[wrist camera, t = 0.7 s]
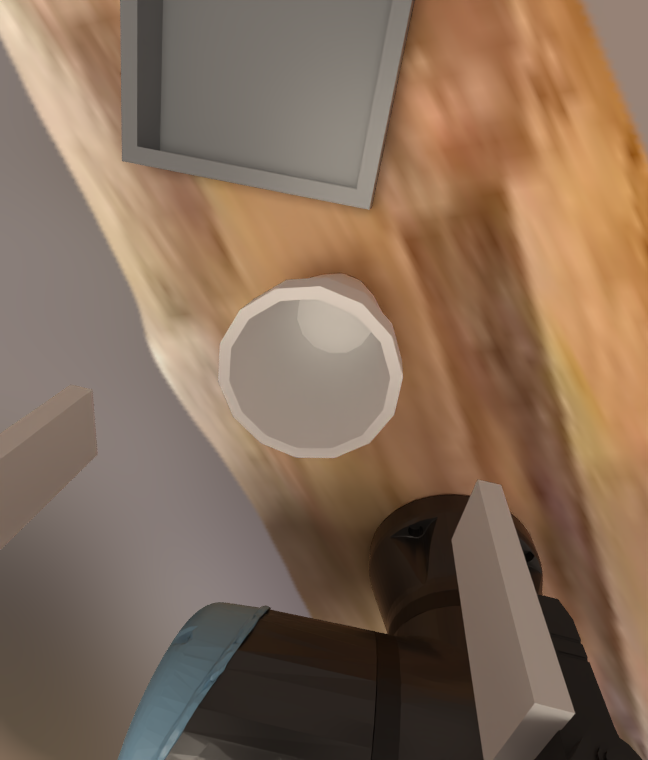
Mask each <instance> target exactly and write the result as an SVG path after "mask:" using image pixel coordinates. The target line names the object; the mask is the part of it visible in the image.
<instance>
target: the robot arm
mask: <svg viewBox="0 0 648 760" xmlns="http://www.w3.org/2000/svg"><path fill="white" fill-rule="evenodd" d="M96 455H97V442H96V429H95V417H94V404H93V391H92V389H87V388H82V387H79V386H74V385H70V386H68V387H67V388H65V389H64V390H63V391H61V392H60V393H58V394H57V395H55V396H54V397H52V398H51V399H50V400H48V401H47V402H45V403H44V404H42V405H41V406H39V407H38V408H37V409H35V410H34V411H32V412H31V413H29V414H28V415H26V416H25V417H23V418H22V419H21V420H19V421H18V422H16V423H15V424H13V425H12V426H10V427H9V428H7V429H6V430H5V431H3V432H2V433H0V550H1V549H2V548H3V547H4V546H5V545H6V544H7V543H8V542H9V541H10V540H11V539H12V538H13V537H14V536H15V535H16V534H17V533H18V532H19V531H20V530H21V529H22V528H23V527H24V526H25V525H26V524H27V523H28V522H29V521H30V520H31V519H32V518H33V517H34V516H35V515H37V514H38V512H40V511H41V510H42V509H43V508H44V507H45V506H46V505H47V504H48V503H49V502H50V501H51V500H52V499H53V498H54V497H55V496H56V495H57V494H58V493H59V492H60V491H61V490H62V489H63V488H64V487H65V486H66V485H67V484H68V483H69V482H70V481H71V480H72V479H73V478H74V477H75V476H76V475H77V474H78V473H79V472H80V471H81V470H82V469H83V468H84V467H85V466H86V465H87V464H88V463H89V462H90V461H91V460H92V459H93V458H94V457H95V456H96ZM369 576H370V582H371V586H372V590H373V592H374V595H375V598H376V601H377V604H378V607H379V610H380V613H381V616H382V619H383V622H384V624H385V627H386V630H387V633H388V634H384V633H379V632H375V631H370V630H365V629H360V628H356V627H351V626H346V625H341V624H336V623H332V622H327V621H322V620H317V619H312V618H307V617H303V616H298V615H293V614H288V613H283V612H279V611H274V610H270V609H271V608H270V607H268V606H262V607H260V608H258V607H251V606H244V605H237V604H230V603H223V602H222V603H221V602H218V603H213V604H210V605H207V606H205V607H203V608H202V609H200V610H199V611H198V612H196V613H195V614H194V615H193V616H192V617H191V618H190V619H189V620H188V621H187V622H186V624H185V625H184V626H183V627H182V629H181V630H180V631H179V633H178V634H177V636H176V637H175V639H174V640H173V642H172V643H171V645H170V647H169V648H168V650H167V651H166V653H165V655H164V656H163V658H162V660H161V662H160V664H159V665H158V667H157V669H156V671H155V672H154V675H153V676H152V678H151V680H150V682H149V684H148V686H147V688H146V690H145V692H144V695H143V697H142V699H141V701H140V703H139V705H138V708H137V710H136V712H135V715H134V717H133V720H132V722H131V724H130V727H129V729H128V732H127V735H126V738H125V740H124V743H123V746H122V749H121V751H120V755H119V757H118V760H642V759H641V758H640V756H639V755H638V754H637V753H636V752H635V751H634V750H633V749H632V748H631V747H630V746H629V744H627V743H626V742H625V741H623V740H622V739H620V738H619V736H618V734H617V732H616V730H615V728H614V725H613V722H612V720H611V717H610V715H609V712H608V709H607V707H606V704H605V702H604V699H603V696H602V694H601V691H600V689H599V686H598V683H597V681H596V678H595V676H594V673H593V670H592V668H591V665H590V663H589V662H588V661H587V655H586V652H585V650H584V647H583V645H582V644H581V639H580V637H579V634H578V632H577V629H576V626H575V624H574V621H573V619H572V618H571V616H570V615H569V614H568V612H567V611H566V610H565V608H564V607H563V605H562V604H561V603H560V601H559V600H558V599H555V598H551V597H546V596H542V582H543V575H542V567H541V562H540V559H539V556H538V554H537V551H536V549H535V546H534V544H533V541H532V539H531V537H530V535H529V533H528V532H527V530H526V529H525V527H524V526H523V525H522V524H521V523H520V522H519V521H518V520H517V519H516V518H515V517H514V516H513V515H511V514H510V511H509V508H508V504H507V501H506V498H505V495H504V492H503V489H502V486H501V485H499V484H495V483H491V482H486V481H482V480H477V482H476V484H475V487H474V489H473V491H472V494H471V496H470V497H467V496H458V495H442V496H434V497H428V498H424V499H420V500H417V501H414V502H412V503H409V504H407V505H405V506H403V507H401V508H400V509H398V510H397V511H395V512H394V513H392V514H391V515H390V516H389V517H388V518H387V519H386V520H385V521H384V522H383V523H382V524H381V525H380V527H379V528H378V530H377V531H376V533H375V535H374V537H373V540H372V543H371V548H370V561H369Z"/></svg>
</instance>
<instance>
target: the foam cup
mask: <svg viewBox="0 0 648 760" xmlns="http://www.w3.org/2000/svg"><path fill="white" fill-rule="evenodd" d="M402 379H403V369H402V359H401V355H400V351H399V347H398V344H397V340H396V336H395V332H394V329H393V325H392V323H391V322H390V321H389V319H388V318H387V317H386V316H385V315H384V314H383V313H382V311H381V309H380V307H379V305H378V303H377V301H376V299H375V297H374V296H373V294H372V293H371V292H370V291H369V290H368V289H367V287H366V286H365V285H364V284H363V283H362V282H361V281H360V280H358V279H356V278H353V277H351V276H348V275H346V274H343V273H339V274H324V275H319V276H315V277H311V278H307V279H291V280H285V281H284V282H282V283H280V284H278V285H277V286H275V287H273V288H272V289H270V290H268V291H267V292H265V293H263V294H262V295H260V296H258V297H257V298H255V299H253V300H252V301H251V302H249V303H248V304H247V305H246V306H244V307H243V308H242V309H240V311H239V312H238V314H237V316H236V317H235V319H234V321H233V322H232V324H231V326H230V327H229V329H228V331H227V332H226V334H225V336H224V337H223V339H222V341H221V342H220V352H219V373H218V382H219V385H220V387H221V389H222V392H223V394H224V396H225V399H226V401H227V403H228V406H229V408H230V411H231V413H232V415H233V417H234V418H235V419H236V420H237V421H238V422H239V423H240V424H241V425H242V426H243V427H244V428H246V429H247V430H248V431H249V432H250V433H251V434H252V435H253V436H254V437H255V438H256V439H257V440H258V441H259V442H260V443H262V444H264V445H267V446H269V447H271V448H274V449H276V450H279V451H281V452H284V453H286V454H289V455H291V456H294V457H296V458H336V457H338V456H341V455H343V454H345V453H348V452H350V451H352V450H355V449H357V448H359V447H362V446H364V445H366V444H369V443H370V442H371V441H372V440H373V439H374V438H375V436H376V435H377V434H378V433H379V432H380V431H381V429H382V428H383V427H384V426H385V425H386V424H387V423H388V421H389V420H390V419H391V418H392V417H393V416H394V414H395V409H396V405H397V401H398V396H399V392H400V388H401V384H402Z"/></svg>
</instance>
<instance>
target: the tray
mask: <svg viewBox="0 0 648 760" xmlns="http://www.w3.org/2000/svg"><path fill="white" fill-rule="evenodd" d="M414 1H415V0H120V21H121V111H122V161H125V162H130V163H135V164H140V165H145V166H150V167H155V168H160V169H165V170H170V171H175V172H180V173H185V174H191V175H196V176H201V177H206V178H211V179H216V180H221V181H226V182H231V183H236V184H241V185H246V186H251V187H257V188H262V189H267V190H272V191H277V192H282V193H287V194H292V195H297V196H302V197H307V198H312V199H317V200H323V201H328V202H333V203H338V204H343V205H348V206H353V207H358V208H363V209H368V210H369V209H371V208H372V204H373V199H374V195H375V190H376V185H377V180H378V175H379V170H380V166H381V161H382V156H383V151H384V146H385V141H386V136H387V132H388V127H389V122H390V117H391V112H392V107H393V103H394V98H395V93H396V88H397V83H398V78H399V74H400V69H401V64H402V59H403V54H404V49H405V45H406V40H407V35H408V30H409V25H410V20H411V16H412V11H413V6H414Z"/></svg>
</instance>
